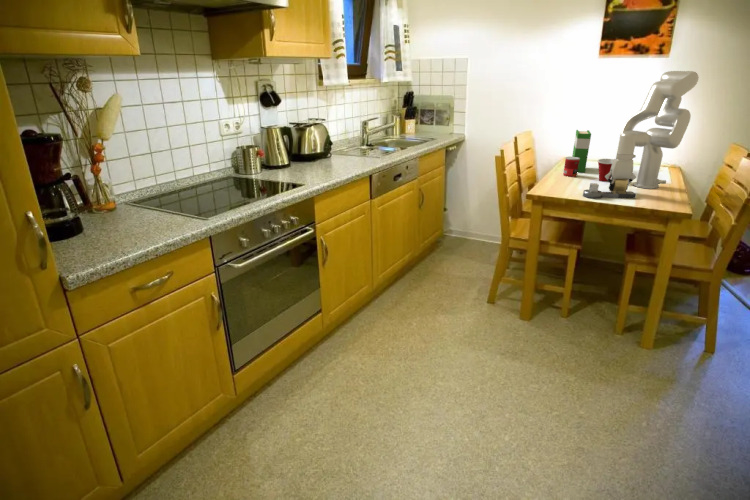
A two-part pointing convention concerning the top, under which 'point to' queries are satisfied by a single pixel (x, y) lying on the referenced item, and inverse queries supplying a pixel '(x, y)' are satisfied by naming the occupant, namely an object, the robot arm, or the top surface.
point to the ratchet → (606, 193)
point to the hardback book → (581, 148)
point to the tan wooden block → (620, 185)
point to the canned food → (571, 166)
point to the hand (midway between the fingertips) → (617, 190)
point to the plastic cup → (604, 168)
